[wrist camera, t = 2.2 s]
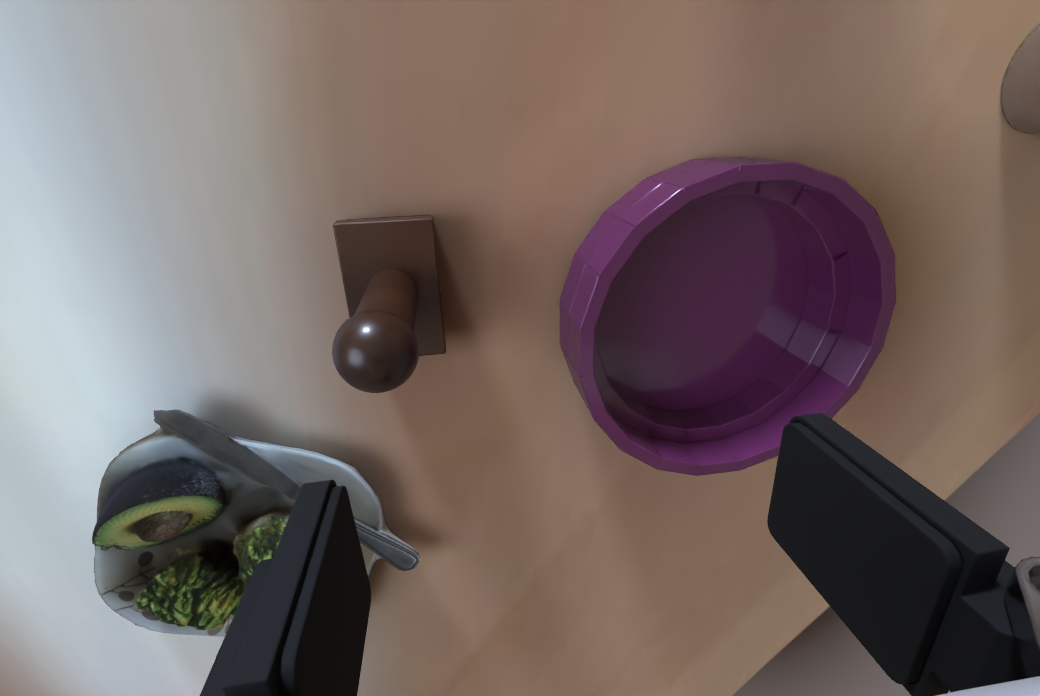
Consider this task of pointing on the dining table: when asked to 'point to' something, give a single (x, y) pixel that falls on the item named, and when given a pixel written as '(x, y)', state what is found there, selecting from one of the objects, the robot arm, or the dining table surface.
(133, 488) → the salad plate
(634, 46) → the dining table surface
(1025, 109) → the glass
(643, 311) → the bowl
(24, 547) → the dining table surface
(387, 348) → the wall coat peg
